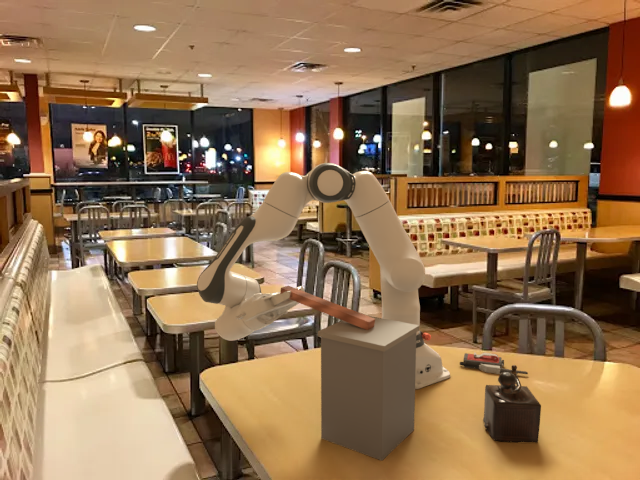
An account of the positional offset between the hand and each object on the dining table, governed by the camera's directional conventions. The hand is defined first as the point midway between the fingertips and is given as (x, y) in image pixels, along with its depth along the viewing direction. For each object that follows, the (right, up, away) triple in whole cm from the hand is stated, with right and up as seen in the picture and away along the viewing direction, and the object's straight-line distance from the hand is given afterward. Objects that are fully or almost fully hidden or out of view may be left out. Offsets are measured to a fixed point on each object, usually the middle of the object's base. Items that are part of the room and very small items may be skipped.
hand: (295, 291), depth 131 cm
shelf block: (+18, -33, -8) cm, 38 cm away
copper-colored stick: (+7, -4, -5) cm, 10 cm away
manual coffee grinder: (+51, -33, -9) cm, 62 cm away
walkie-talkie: (+60, -28, +32) cm, 74 cm away
